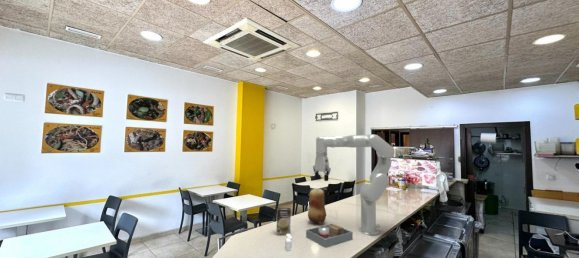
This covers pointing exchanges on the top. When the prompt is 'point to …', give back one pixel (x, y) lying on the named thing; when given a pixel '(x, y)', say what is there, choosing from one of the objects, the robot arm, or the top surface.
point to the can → (324, 232)
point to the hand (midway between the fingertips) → (321, 179)
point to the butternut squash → (317, 206)
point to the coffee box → (283, 221)
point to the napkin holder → (288, 242)
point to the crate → (330, 241)
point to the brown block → (335, 230)
